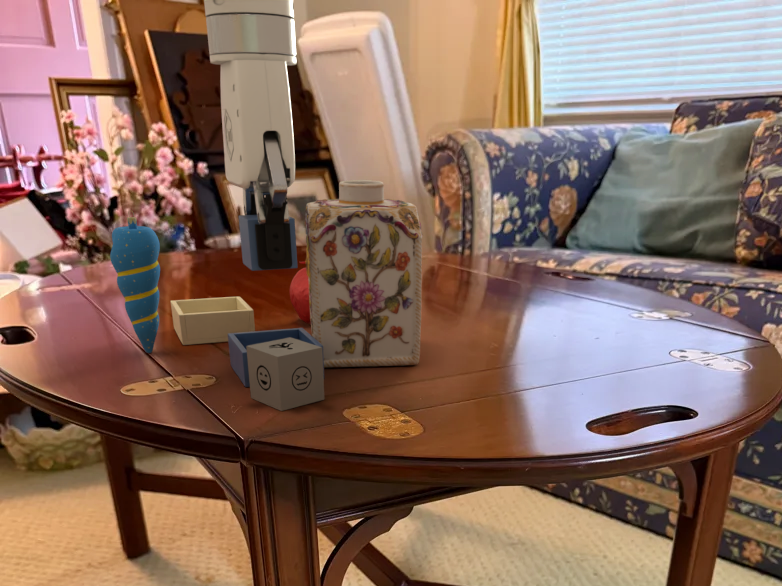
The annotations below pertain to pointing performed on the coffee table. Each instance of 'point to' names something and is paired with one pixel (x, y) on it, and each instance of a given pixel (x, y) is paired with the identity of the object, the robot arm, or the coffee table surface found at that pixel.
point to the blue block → (250, 244)
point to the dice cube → (285, 373)
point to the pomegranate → (301, 294)
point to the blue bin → (250, 338)
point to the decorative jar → (364, 277)
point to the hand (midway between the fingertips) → (269, 262)
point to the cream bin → (211, 319)
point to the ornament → (138, 277)
